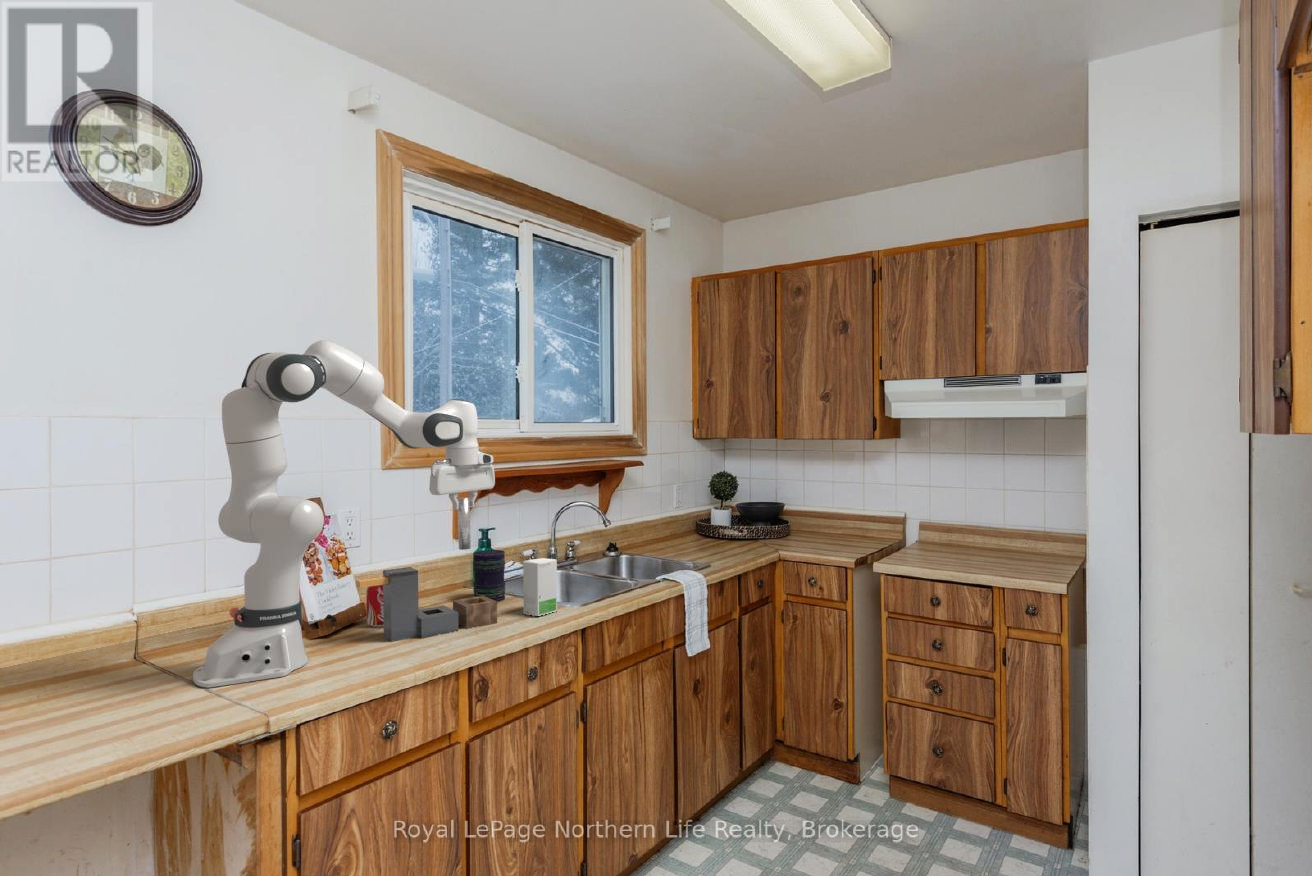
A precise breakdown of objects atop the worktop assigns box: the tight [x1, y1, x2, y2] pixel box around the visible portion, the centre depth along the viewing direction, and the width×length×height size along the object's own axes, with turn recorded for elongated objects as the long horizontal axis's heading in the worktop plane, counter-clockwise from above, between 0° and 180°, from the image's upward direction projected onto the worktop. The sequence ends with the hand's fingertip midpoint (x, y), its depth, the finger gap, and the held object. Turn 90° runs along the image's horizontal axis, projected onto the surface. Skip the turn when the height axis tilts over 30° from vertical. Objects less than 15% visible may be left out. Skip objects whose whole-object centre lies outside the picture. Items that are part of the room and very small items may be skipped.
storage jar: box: [472, 549, 506, 603], centre depth 222 cm, size 10×10×15 cm
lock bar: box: [356, 576, 389, 589], centre depth 180 cm, size 14×2×2 cm, turn 129°
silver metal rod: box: [456, 497, 471, 551], centre depth 194 cm, size 3×3×14 cm
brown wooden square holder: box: [452, 596, 498, 630], centre depth 195 cm, size 9×9×6 cm
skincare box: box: [522, 557, 558, 617], centre depth 205 cm, size 8×7×16 cm
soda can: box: [366, 585, 384, 628], centre depth 194 cm, size 7×7×12 cm
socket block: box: [382, 566, 460, 643], centre depth 186 cm, size 17×10×17 cm, turn 129°
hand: (463, 508), depth 194 cm, fingers closed on silver metal rod, 3 cm apart
